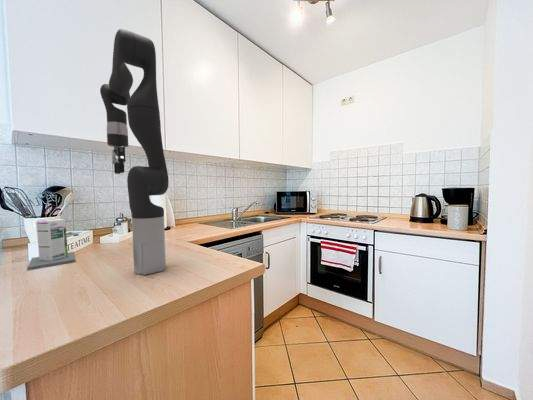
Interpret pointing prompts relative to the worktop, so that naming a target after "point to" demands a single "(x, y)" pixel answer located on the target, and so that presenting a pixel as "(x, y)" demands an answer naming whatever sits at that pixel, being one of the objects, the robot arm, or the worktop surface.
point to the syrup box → (52, 239)
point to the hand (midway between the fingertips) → (119, 173)
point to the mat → (50, 262)
